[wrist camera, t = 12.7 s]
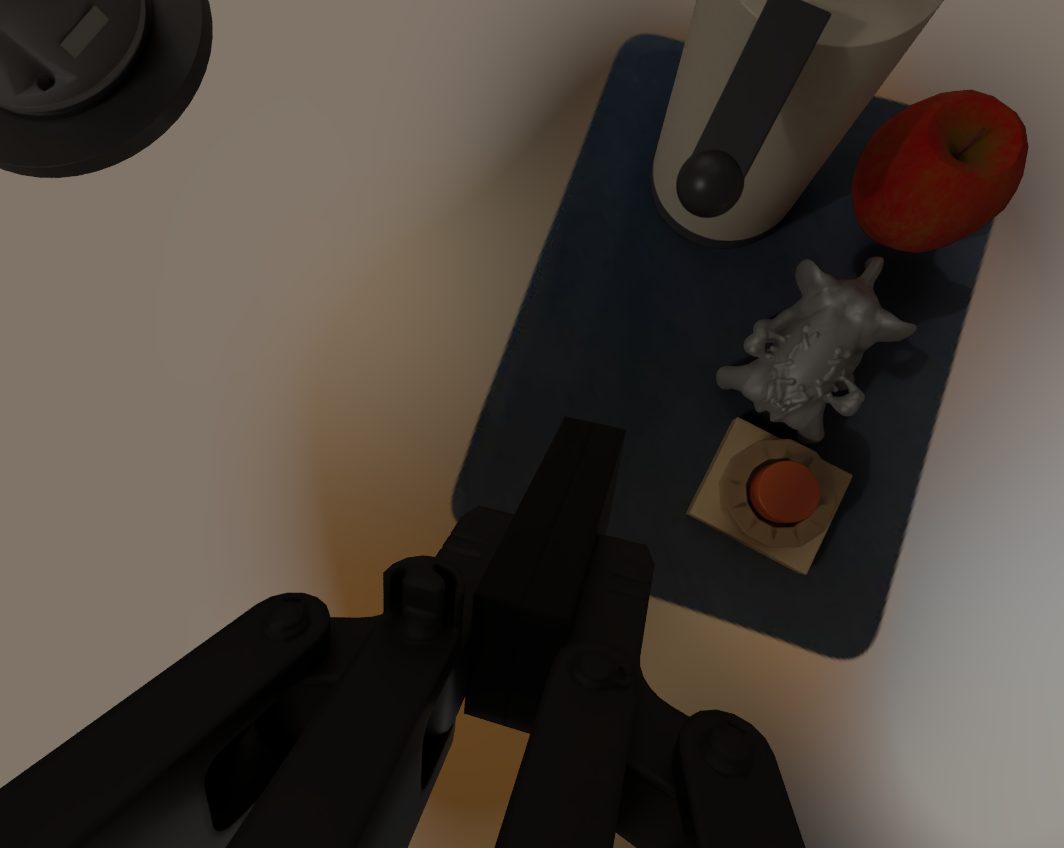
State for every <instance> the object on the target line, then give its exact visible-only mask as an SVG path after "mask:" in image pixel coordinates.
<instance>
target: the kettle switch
mask: <svg viewBox="0 0 1064 848" xmlns="http://www.w3.org/2000/svg"><path fill="white" fill-rule="evenodd" d="M830 17H831V13H830V12H828V11H826V10H824V9H821V8H819V7H817V6H814V5H812V4H810V3H807V2H805V1H802V0H767V2H766V4H765V6H764V8H763V10H762V12H761V14H760V16H759V18H758V20H757V22H756V24H755V26H754V28H753V30H752V32H751V34H750V37H749V39H748V41H747V43H746V45H745V47H744V49H743V51H742V53H741V55H740V57H739V59H738V61H737V63H736V65H735V67H734V69H733V71H732V73H731V75H730V77H729V80H728V82H727V84H726V86H725V88H724V90H723V92H722V94H721V96H720V98H719V100H718V102H717V104H716V106H715V108H714V110H713V112H712V114H711V116H710V118H709V121H708V123H707V125H706V127H705V129H704V131H703V133H702V135H701V137H700V139H699V141H698V143H697V145H696V147H695V149H694V151H693V153H692V155H691V156H690V157H689V158H688V159H687V160H686V161H685V163H684V164H683V165H682V167H681V169H680V171H679V173H678V177H677V182H676V190H677V196H678V198H679V201H680V203H681V204H682V206H683V207H684V208H685V209H686V210H687V211H688V212H689V213H691V214H693V215H695V216H697V217H701V218H713V217H717V216H720V215H722V214H724V213H726V212H728V211H729V210H730V209H731V208H732V207H733V206H734V205H735V204H736V203H737V202H738V200H739V198H740V196H741V194H742V191H743V188H744V179H745V177H746V175H747V173H748V171H749V170H750V168H751V166H752V164H753V162H754V160H755V158H756V156H757V154H758V153H759V151H760V149H761V147H762V145H763V143H764V141H765V139H766V137H767V136H768V134H769V132H770V130H771V128H772V126H773V124H774V122H775V120H776V119H777V117H778V115H779V113H780V111H781V109H782V107H783V105H784V104H785V102H786V100H787V98H788V96H789V94H790V92H791V90H792V88H793V87H794V85H795V83H796V81H797V79H798V77H799V75H800V73H801V71H802V70H803V68H804V66H805V64H806V62H807V60H808V58H809V56H810V54H811V53H812V51H813V49H814V47H815V45H816V43H817V41H818V39H819V37H820V36H821V34H822V32H823V30H824V28H825V26H826V24H827V22H828V21H829V19H830Z"/></svg>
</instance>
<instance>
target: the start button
mask: <svg viewBox="0 0 1064 848" xmlns="http://www.w3.org/2000/svg"><path fill="white" fill-rule="evenodd" d="M750 499H751V502H752V504H753V506H754V508H755V509H756V511H757V512H758V513H759V514H760V515H761V516H762V517H764V518H766V519H767V520H770V521H772V522H777V523H793V522H799V521H802V520H804V519H806V518H808V517H809V516H810V515H811V514H812V513H813V512H814V511H815V510H816V508H817V506H818V503H819V500H820V487H819V483H818V481H817V479H816V477H815V475H814V474H813V473H812V472H811V471H810V470H809V469H808V468H807V467H806V466H804V465H802V464H800V463H798V462H794V461H780V462H776V463H773V464H770V465H767V466H765V467H763V468H761V469H760V470H759V471H758V472H757V473H756V474H755V475H754V477H753V479H752V481H751V484H750Z"/></svg>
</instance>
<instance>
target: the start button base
mask: <svg viewBox="0 0 1064 848" xmlns="http://www.w3.org/2000/svg"><path fill="white" fill-rule="evenodd" d="M780 461H794V462H798V463H800V464H802V465H804V466H806V467H807V468H808V469H809V470H810V471H811V472H812V473H813V474H814V475H815V477H816V479H817V481H818V483H819V487H820V500H819V503H818V506H817V508H816V510H815V511H814V512H813V513H812V514H811V515H810V516H809V517H808V518H806V519H804V520H802V521H799V522H793V523H777V522H772V521H770V520H767V519H766V518H764V517H762V516H761V515H760V514H759V513H758V512H757V511H756V509H755V508H754V506H753V504H752V502H751V499H750V484H751V481H752V479H753V477H754V475H755V474H756V473H757V472H758V471H759V470H760V469H761V468H763V467H765V466H767V465H770V464H773V463H776V462H780ZM852 476H853V475H851V474H849V473H847V472H845V471H843V470H842V469H840V468H838V467H836V466H834V465H832V464H830V463H828V462H826V461H824V460H822V459H821V458H820V456H819V455H818V453H816V452H815V451H813V450H811V449H809V448H807V447H805V446H803V445H801V444H799V443H797V442H795V441H793V440H791V439H780V438H778V437H776V436H774V435H772V434H770V433H768V432H766V431H764V430H763V429H761V428H759V427H757V426H755V425H753V424H751V423H749V422H747V421H745V420H743V419H741V418H739V417H737V418H735V419H734V420H732V422H731V424H730V426H729V428H728V430H727V432H726V434H725V436H724V438H723V440H722V442H721V444H720V446H719V448H718V450H717V452H716V454H715V456H714V458H713V460H712V462H711V464H710V466H709V468H708V470H707V472H706V474H705V476H704V478H703V480H702V482H701V484H700V486H699V488H698V490H697V492H696V494H695V496H694V498H693V500H692V502H691V504H690V506H689V508H688V510H687V512H686V514H687V515H689V516H691V517H693V518H695V519H697V520H699V521H701V522H702V523H704V524H706V525H708V526H710V527H712V528H714V529H716V530H718V531H719V532H721V533H723V534H725V535H727V536H729V537H731V538H733V539H735V540H737V541H738V542H740V543H742V544H744V545H746V546H748V547H750V548H752V549H754V550H755V551H757V552H759V553H761V554H763V555H765V556H767V557H769V558H771V559H772V560H774V561H776V562H778V563H780V564H782V565H784V566H786V567H788V568H789V569H791V570H793V571H795V572H797V573H799V574H804V575H806V574H807V573H808V570H809V568H810V566H811V564H812V562H813V560H814V558H815V555H816V553H817V551H818V549H819V547H820V545H821V543H822V541H823V538H824V536H825V534H826V532H827V530H828V528H829V526H830V523H831V521H832V519H833V517H834V515H835V513H836V511H837V508H838V506H839V504H840V502H841V500H842V498H843V496H844V494H845V491H846V489H847V487H848V485H849V483H850V481H851V479H852Z"/></svg>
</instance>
